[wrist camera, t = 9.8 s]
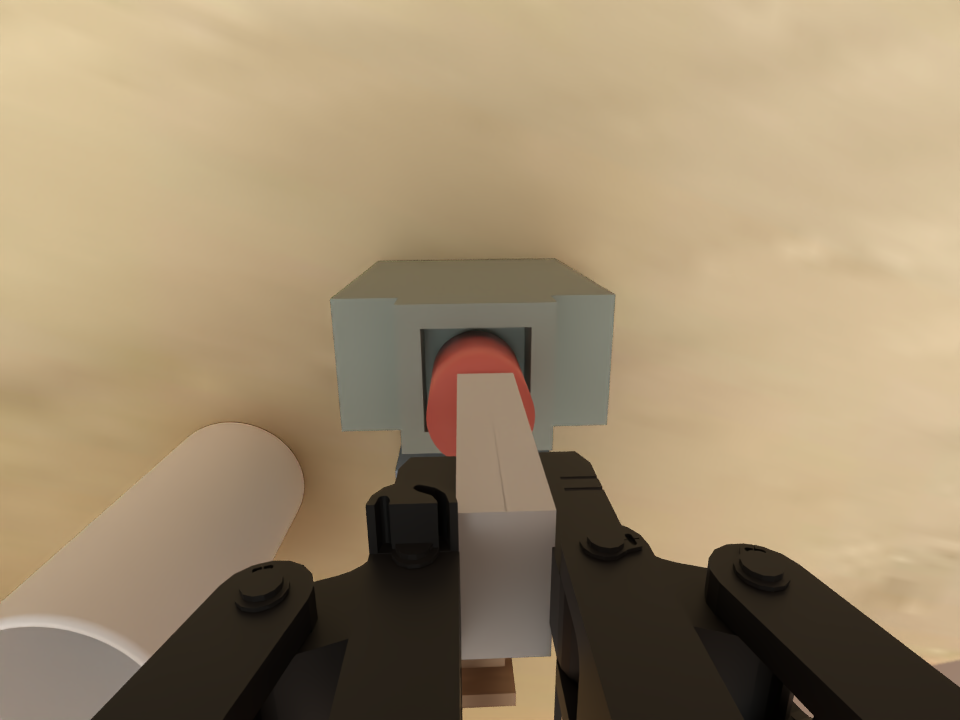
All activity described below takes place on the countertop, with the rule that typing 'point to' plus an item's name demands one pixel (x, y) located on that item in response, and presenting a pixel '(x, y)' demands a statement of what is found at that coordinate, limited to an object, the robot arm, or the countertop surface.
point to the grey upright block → (462, 308)
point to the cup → (144, 570)
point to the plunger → (467, 357)
